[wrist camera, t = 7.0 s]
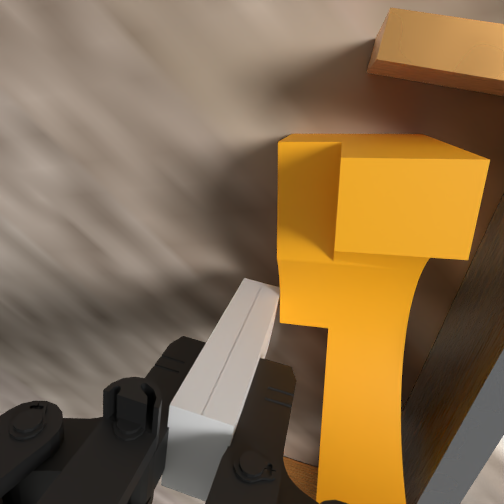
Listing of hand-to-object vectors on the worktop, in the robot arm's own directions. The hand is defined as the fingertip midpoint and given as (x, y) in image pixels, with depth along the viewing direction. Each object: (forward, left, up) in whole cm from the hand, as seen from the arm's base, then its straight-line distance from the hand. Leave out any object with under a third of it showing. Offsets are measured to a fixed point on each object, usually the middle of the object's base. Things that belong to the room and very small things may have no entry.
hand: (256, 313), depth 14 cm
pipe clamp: (+3, +1, -2) cm, 4 cm away
